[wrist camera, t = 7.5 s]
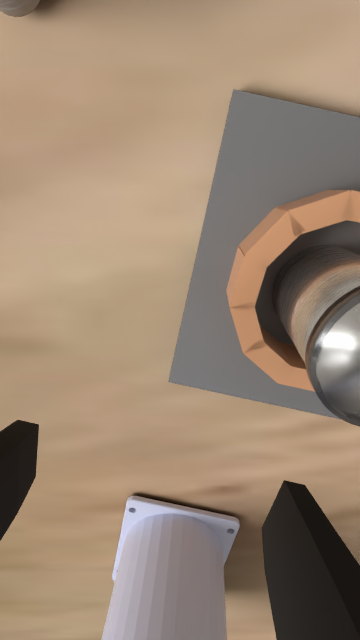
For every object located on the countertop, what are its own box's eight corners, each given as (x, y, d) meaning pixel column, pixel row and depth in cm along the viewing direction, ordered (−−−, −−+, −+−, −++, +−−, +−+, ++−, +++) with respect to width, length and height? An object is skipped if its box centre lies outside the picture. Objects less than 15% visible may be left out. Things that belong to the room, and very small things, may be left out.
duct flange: (370, 417, 19) (401, 461, 16) (169, 374, 19) (162, 409, 16) (509, 156, 14) (596, 146, 11) (232, 94, 14) (239, 66, 11)
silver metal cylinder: (353, 340, 16) (449, 437, 10) (260, 330, 17) (294, 419, 10) (383, 246, 15) (523, 291, 8) (278, 236, 15) (334, 272, 8)
